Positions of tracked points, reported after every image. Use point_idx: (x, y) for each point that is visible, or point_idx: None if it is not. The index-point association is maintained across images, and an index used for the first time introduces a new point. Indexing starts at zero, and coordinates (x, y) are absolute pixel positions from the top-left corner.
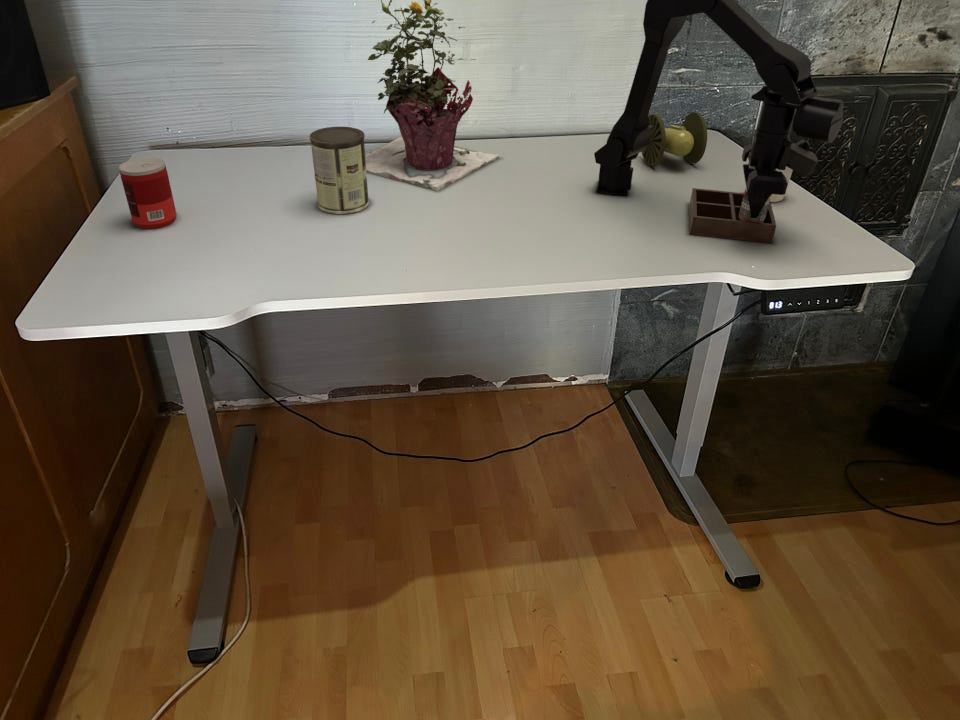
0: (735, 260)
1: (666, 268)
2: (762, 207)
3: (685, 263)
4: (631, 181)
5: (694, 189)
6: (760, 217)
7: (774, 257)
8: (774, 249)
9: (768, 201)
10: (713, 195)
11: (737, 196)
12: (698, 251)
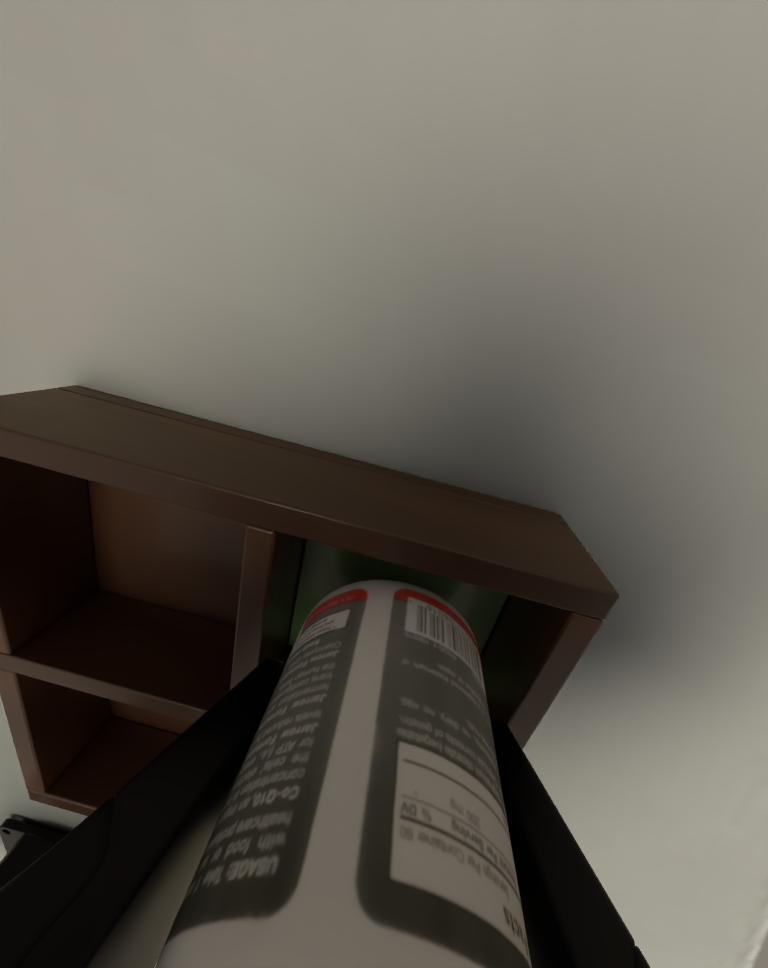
0: (717, 741)
1: (701, 925)
2: (589, 868)
3: (681, 879)
4: (12, 860)
5: (47, 800)
6: (482, 683)
7: (754, 566)
8: (644, 526)
9: (477, 820)
10: (54, 707)
11: (24, 613)
12: (585, 819)
